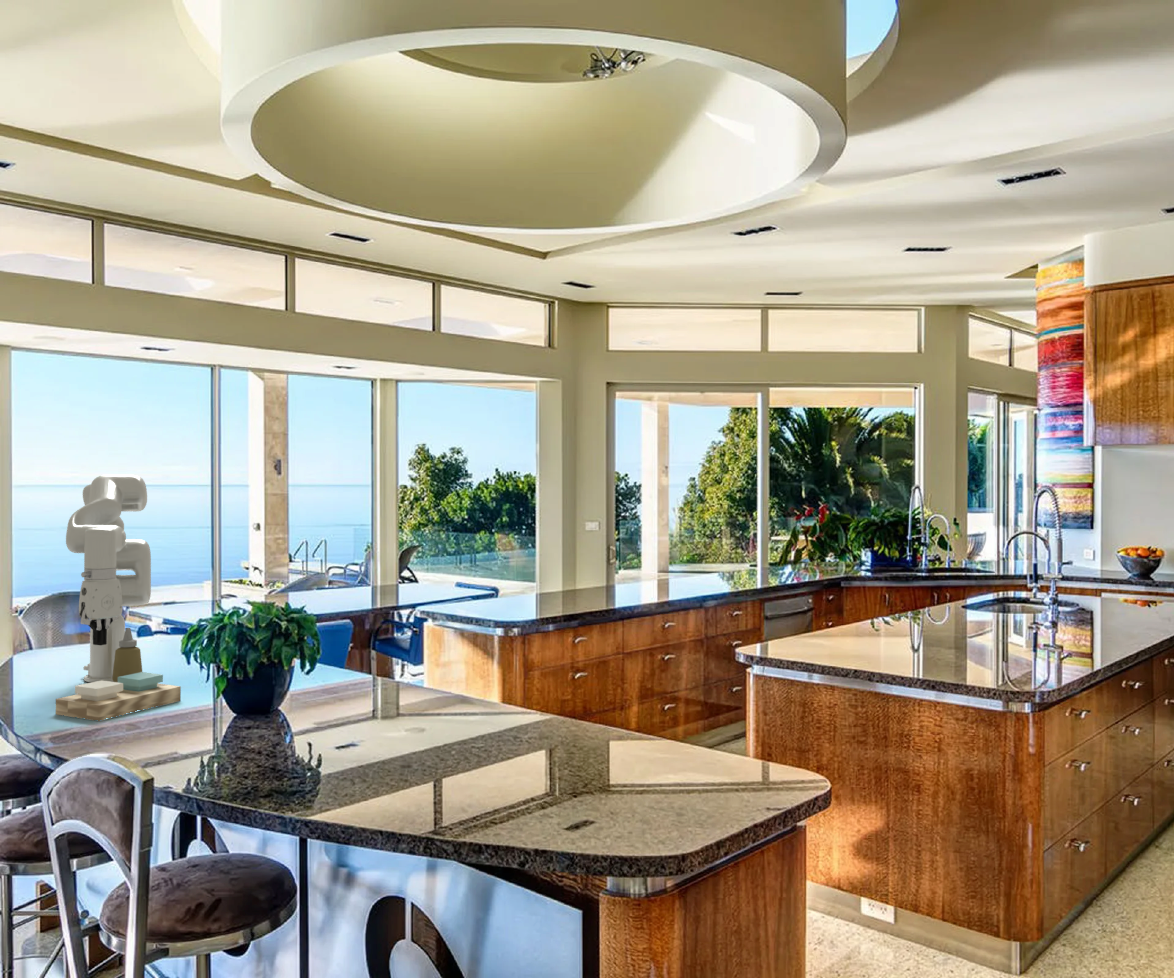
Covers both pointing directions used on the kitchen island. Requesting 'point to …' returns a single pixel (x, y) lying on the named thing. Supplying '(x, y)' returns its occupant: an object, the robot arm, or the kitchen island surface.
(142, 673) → the teal key
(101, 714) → the light wood flat block
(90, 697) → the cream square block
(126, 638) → the squeeze bottle
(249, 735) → the kitchen island surface
